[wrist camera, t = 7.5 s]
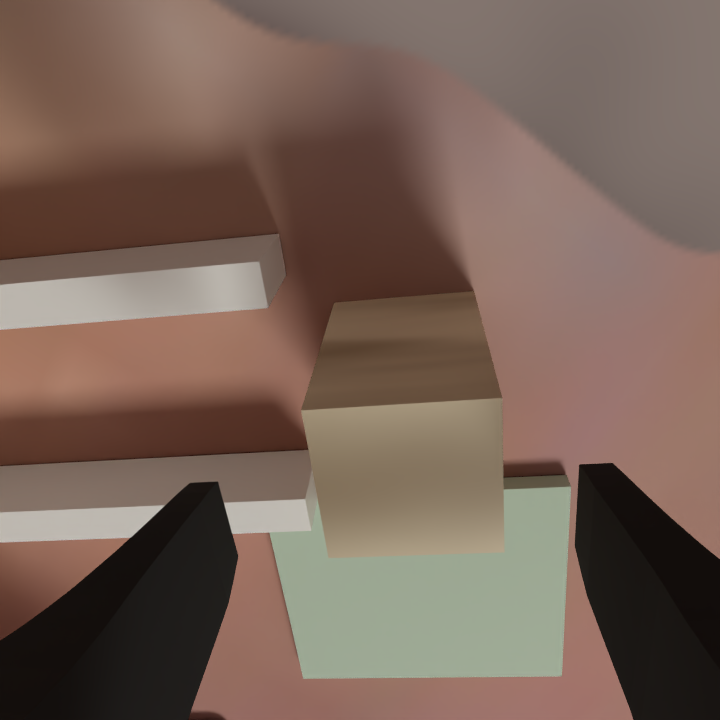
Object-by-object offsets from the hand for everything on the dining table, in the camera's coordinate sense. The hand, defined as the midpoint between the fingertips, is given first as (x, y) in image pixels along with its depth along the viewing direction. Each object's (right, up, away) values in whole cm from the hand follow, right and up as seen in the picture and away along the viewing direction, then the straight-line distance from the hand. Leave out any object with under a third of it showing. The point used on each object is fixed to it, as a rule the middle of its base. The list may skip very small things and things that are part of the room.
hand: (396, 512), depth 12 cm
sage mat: (+1, -5, +10) cm, 11 cm away
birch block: (+1, +3, +6) cm, 7 cm away
